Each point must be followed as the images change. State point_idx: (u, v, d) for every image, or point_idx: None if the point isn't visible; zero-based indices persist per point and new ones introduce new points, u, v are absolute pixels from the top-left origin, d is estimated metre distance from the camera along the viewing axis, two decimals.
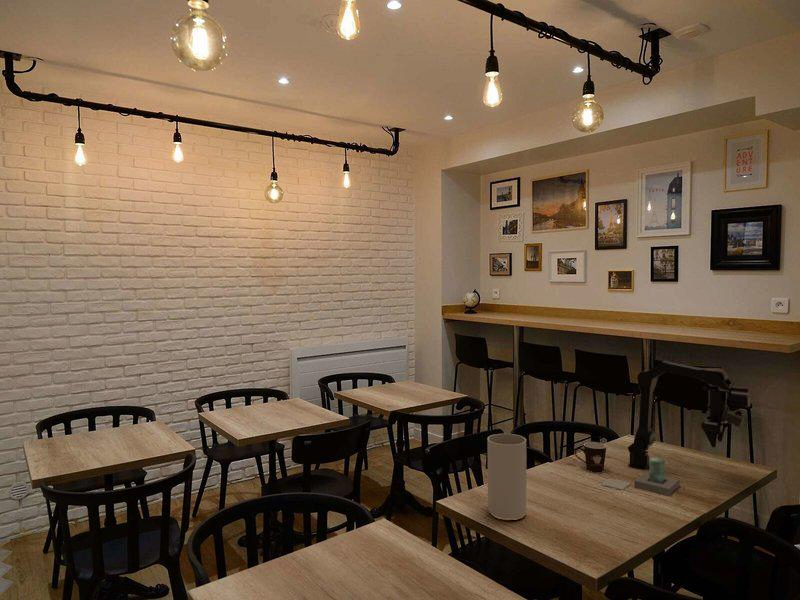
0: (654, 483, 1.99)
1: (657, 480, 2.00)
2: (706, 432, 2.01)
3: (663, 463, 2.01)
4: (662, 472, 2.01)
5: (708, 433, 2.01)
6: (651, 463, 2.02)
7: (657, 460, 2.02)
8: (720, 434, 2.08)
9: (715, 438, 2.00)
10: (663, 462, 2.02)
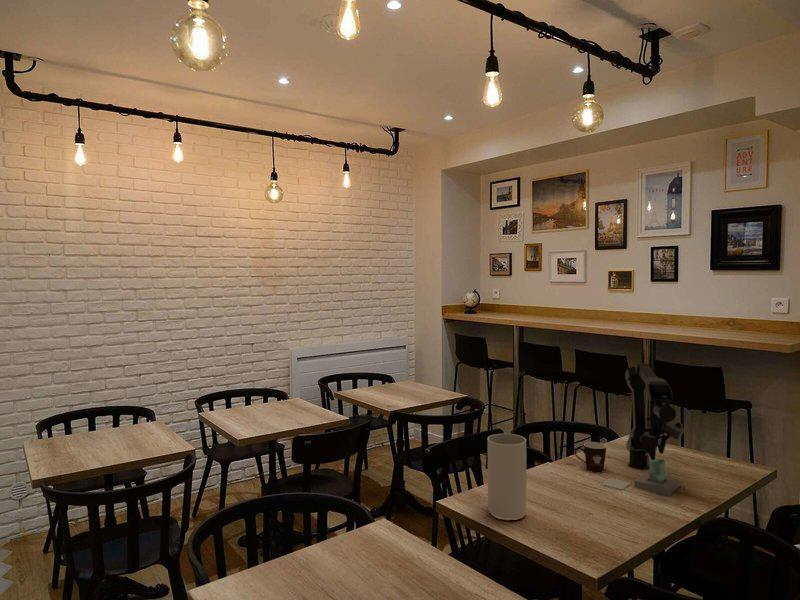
0: (654, 483, 1.99)
1: (657, 480, 2.00)
2: (645, 445, 1.98)
3: (663, 463, 2.01)
4: (662, 472, 2.01)
5: (647, 446, 1.98)
6: (651, 463, 2.02)
7: (657, 460, 2.02)
8: (661, 446, 2.05)
9: (654, 451, 1.97)
10: (663, 462, 2.02)
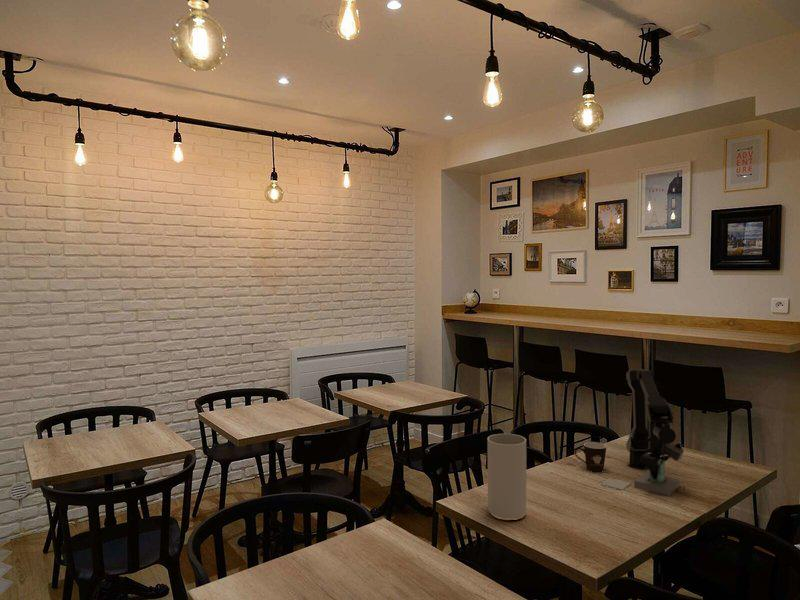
0: (654, 483, 1.99)
1: (657, 480, 2.00)
2: (647, 464, 2.00)
3: (663, 463, 2.01)
4: (662, 472, 2.01)
5: (649, 465, 2.00)
6: None
7: None
8: None
9: (656, 470, 1.99)
10: (664, 462, 2.02)
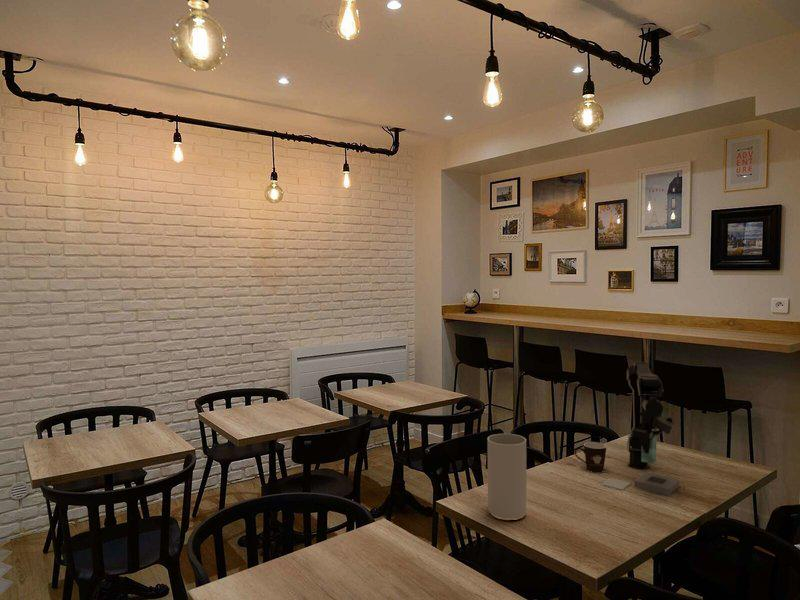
0: (654, 483, 1.99)
1: (649, 455, 2.00)
2: (639, 438, 2.00)
3: (655, 437, 2.01)
4: (654, 446, 2.01)
5: (641, 439, 2.00)
6: None
7: None
8: None
9: (648, 444, 1.99)
10: (655, 436, 2.02)
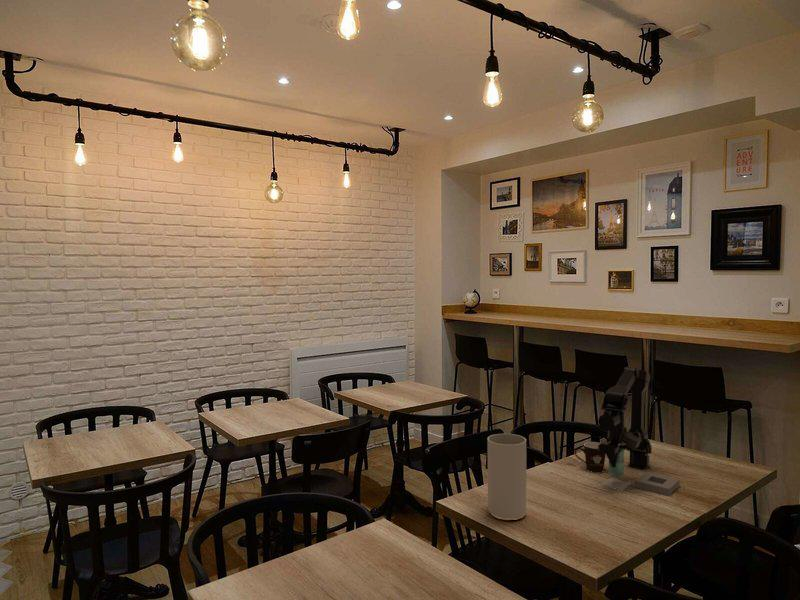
0: (654, 483, 1.99)
1: (616, 469, 2.03)
2: (606, 452, 2.03)
3: (622, 451, 2.03)
4: (621, 460, 2.03)
5: (608, 453, 2.03)
6: None
7: None
8: None
9: (614, 458, 2.01)
10: (622, 451, 2.04)
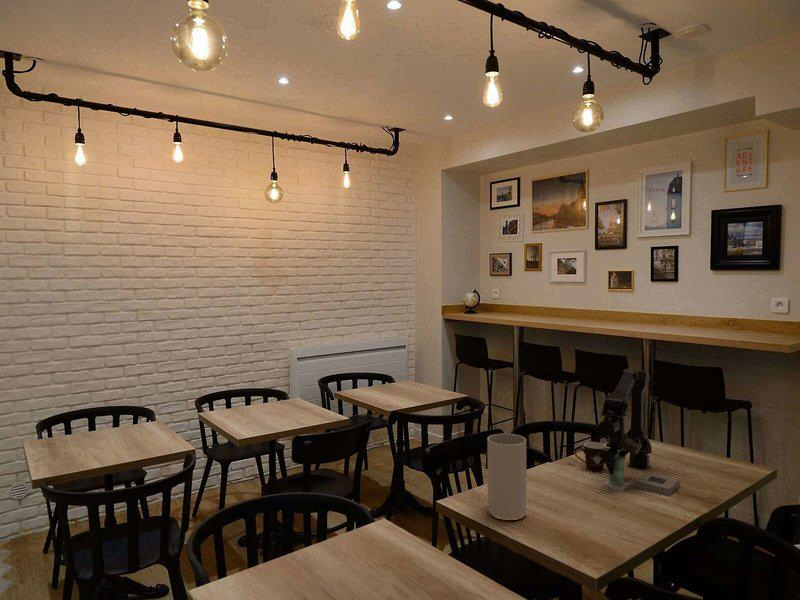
0: (654, 483, 1.99)
1: (616, 477, 2.03)
2: (604, 459, 2.02)
3: (622, 460, 2.04)
4: (621, 469, 2.03)
5: (606, 460, 2.01)
6: None
7: None
8: None
9: (612, 466, 2.00)
10: (622, 459, 2.04)
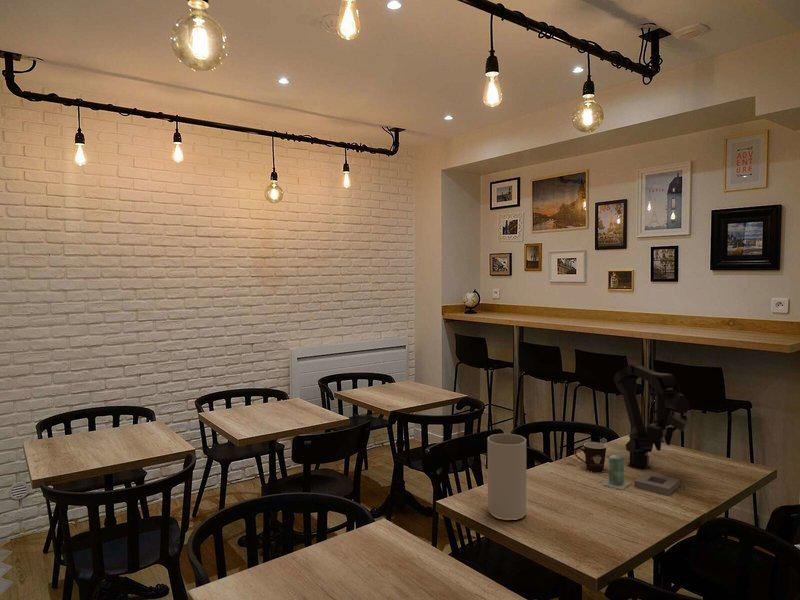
0: (654, 483, 1.99)
1: (616, 477, 2.03)
2: (651, 435, 2.06)
3: (622, 460, 2.04)
4: (621, 469, 2.03)
5: (653, 437, 2.06)
6: (610, 460, 2.04)
7: (616, 457, 2.04)
8: (668, 438, 2.12)
9: (659, 442, 2.04)
10: (622, 459, 2.04)
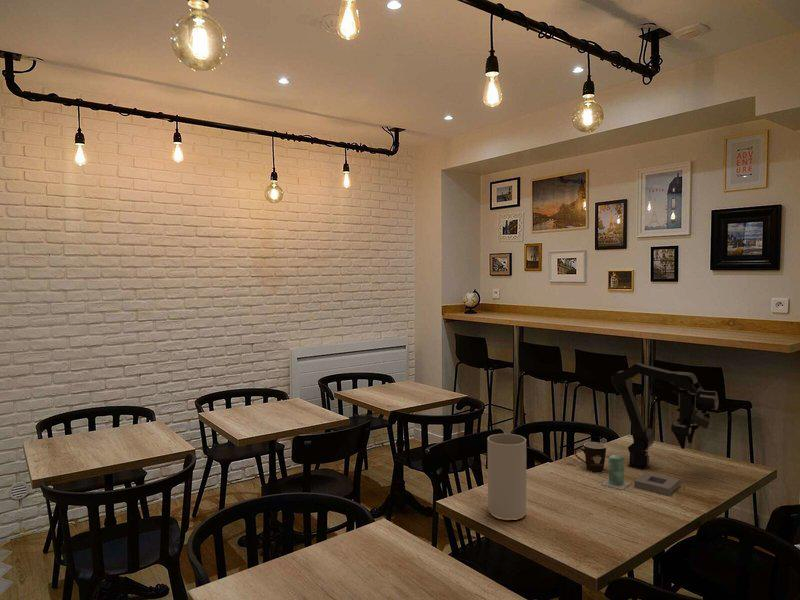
0: (654, 483, 1.99)
1: (616, 477, 2.03)
2: (676, 434, 2.08)
3: (622, 460, 2.04)
4: (621, 469, 2.03)
5: (677, 435, 2.08)
6: (610, 460, 2.04)
7: (616, 457, 2.04)
8: (690, 436, 2.15)
9: (684, 440, 2.07)
10: (622, 459, 2.04)
